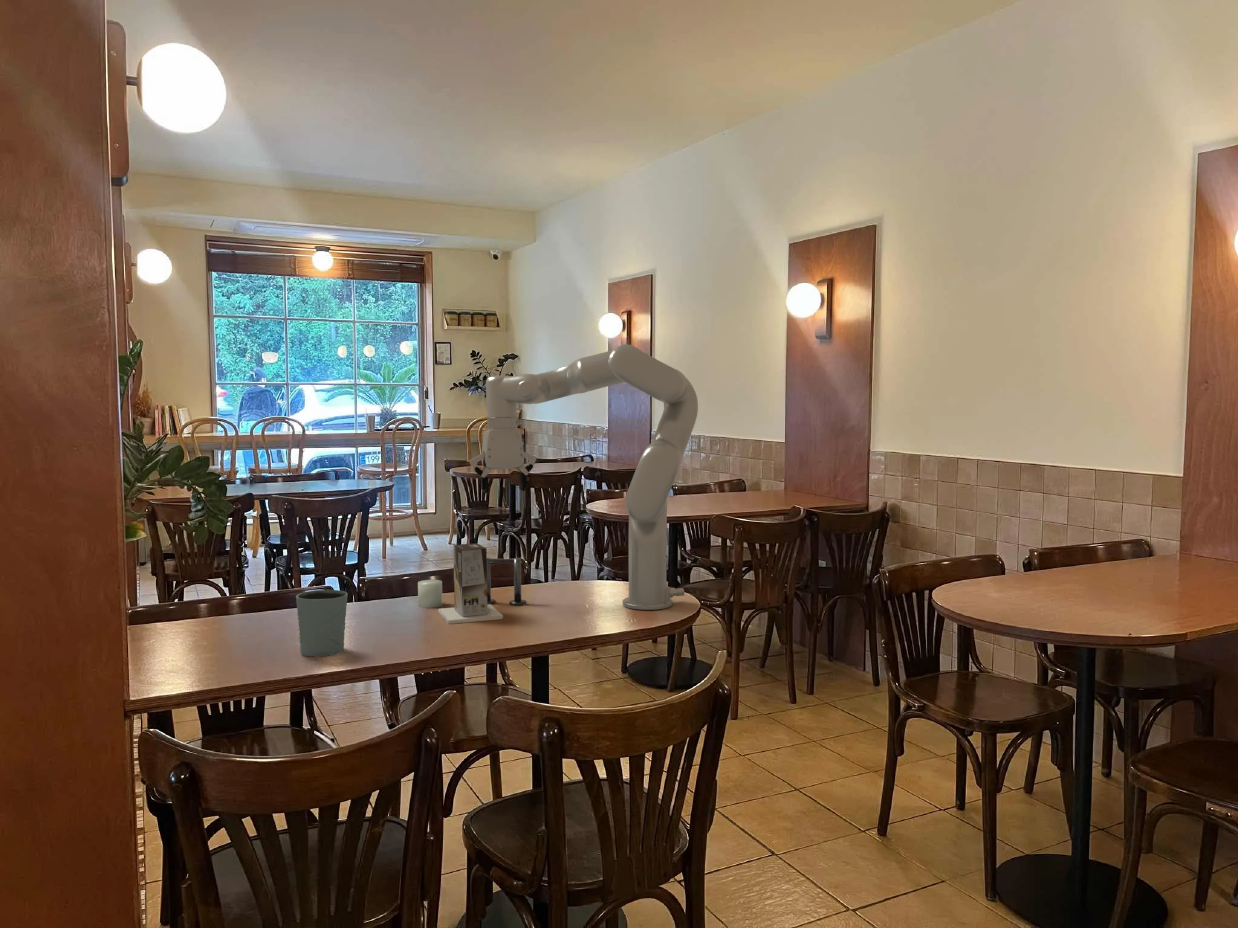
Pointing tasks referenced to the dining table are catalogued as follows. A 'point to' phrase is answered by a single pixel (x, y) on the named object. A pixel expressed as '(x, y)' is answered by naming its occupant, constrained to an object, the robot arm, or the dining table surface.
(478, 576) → the coffee box
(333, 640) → the green tapered pot
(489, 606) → the plate
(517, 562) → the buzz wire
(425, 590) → the pale green pillar candle
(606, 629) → the dining table surface
